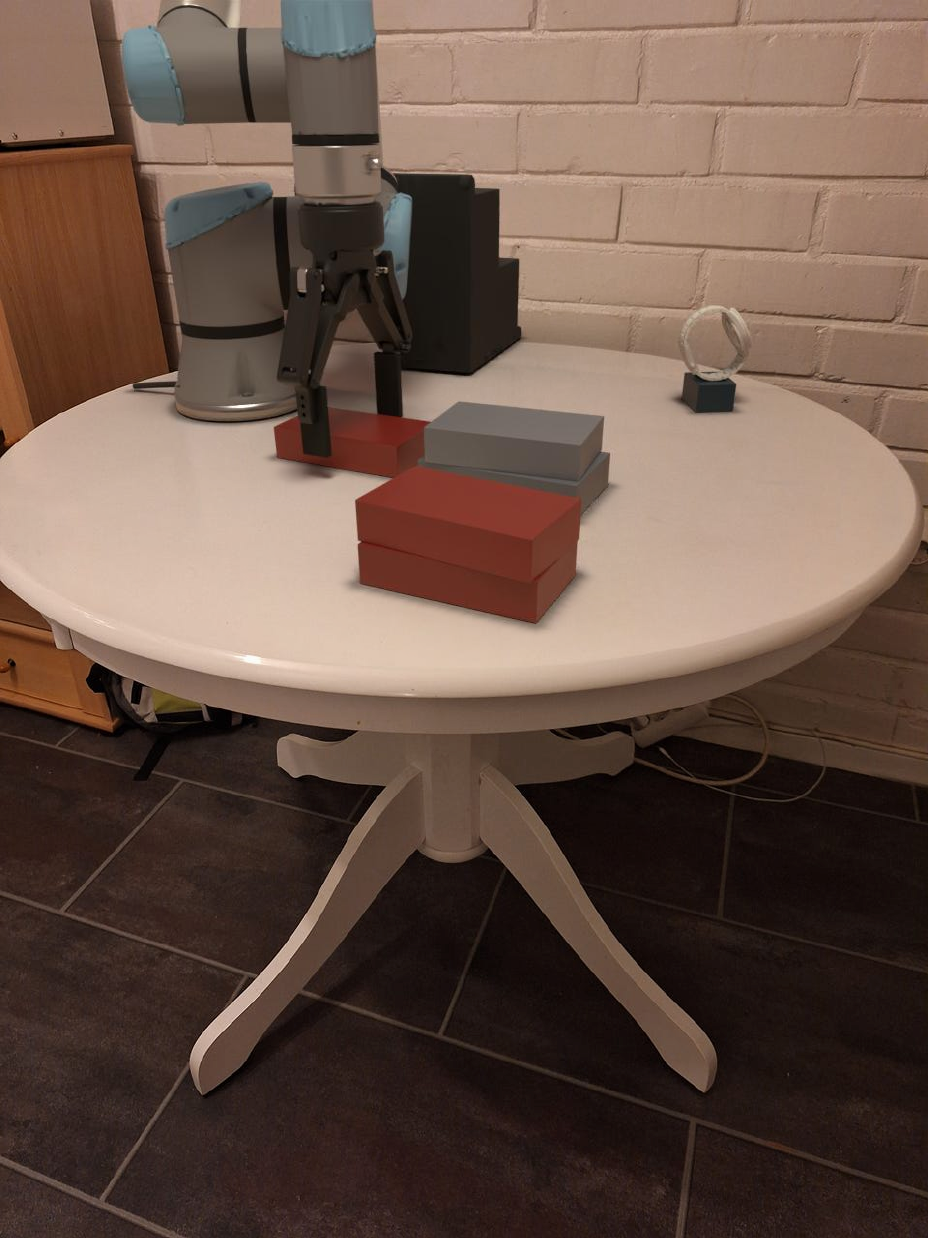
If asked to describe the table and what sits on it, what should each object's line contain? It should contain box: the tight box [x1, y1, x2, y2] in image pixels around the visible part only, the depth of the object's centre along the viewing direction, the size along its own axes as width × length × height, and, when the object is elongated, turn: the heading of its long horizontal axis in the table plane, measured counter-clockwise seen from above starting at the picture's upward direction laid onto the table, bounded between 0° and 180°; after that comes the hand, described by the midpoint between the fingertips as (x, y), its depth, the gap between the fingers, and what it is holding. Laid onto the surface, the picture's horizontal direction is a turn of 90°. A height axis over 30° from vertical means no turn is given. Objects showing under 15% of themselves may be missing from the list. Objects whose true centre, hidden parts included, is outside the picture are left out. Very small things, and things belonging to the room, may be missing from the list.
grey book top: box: [424, 400, 605, 481], centre depth 81 cm, size 14×8×3 cm, turn 69°
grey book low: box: [418, 451, 611, 515], centre depth 82 cm, size 15×9×3 cm, turn 64°
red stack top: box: [354, 466, 582, 583], centre depth 65 cm, size 14×8×3 cm, turn 60°
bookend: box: [392, 172, 523, 374], centre depth 123 cm, size 23×11×24 cm, turn 160°
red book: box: [273, 406, 431, 479], centre depth 91 cm, size 14×8×3 cm, turn 64°
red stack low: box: [357, 540, 579, 624], centre depth 67 cm, size 14×8×3 cm, turn 64°
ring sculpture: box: [677, 304, 754, 413], centre depth 103 cm, size 6×8×11 cm
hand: (355, 434), depth 90 cm, fingers open, 13 cm apart
